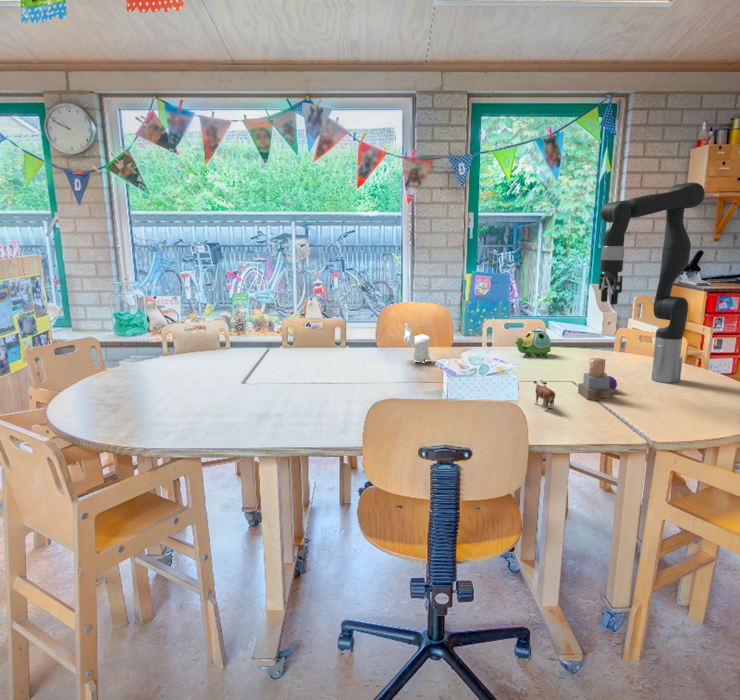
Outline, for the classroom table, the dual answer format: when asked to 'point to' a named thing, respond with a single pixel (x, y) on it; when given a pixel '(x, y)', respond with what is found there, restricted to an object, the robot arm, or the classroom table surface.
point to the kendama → (612, 382)
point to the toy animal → (417, 344)
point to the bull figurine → (544, 393)
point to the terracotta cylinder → (597, 367)
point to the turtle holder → (534, 343)
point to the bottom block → (595, 393)
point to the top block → (596, 382)
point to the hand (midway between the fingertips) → (608, 302)
